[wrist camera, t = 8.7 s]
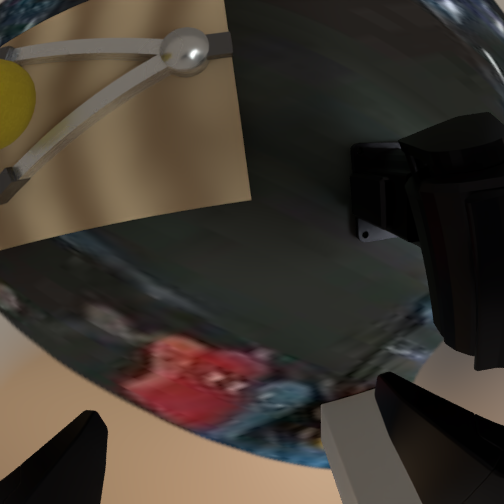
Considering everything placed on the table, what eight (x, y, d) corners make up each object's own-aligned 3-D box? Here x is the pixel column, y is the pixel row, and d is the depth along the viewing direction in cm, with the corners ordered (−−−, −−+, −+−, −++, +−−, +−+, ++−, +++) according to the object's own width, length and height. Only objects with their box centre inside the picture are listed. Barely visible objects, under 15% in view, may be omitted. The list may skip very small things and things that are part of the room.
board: (219, -22, 13) (219, -31, 12) (249, 197, 18) (251, 200, 17) (-14, 65, 12) (-22, 62, 11) (1, 248, 17) (-8, 252, 16)
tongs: (220, -20, 12) (220, -38, 10) (243, 145, 16) (246, 142, 14) (-3, 59, 12) (-19, 54, 9) (3, 204, 15) (-15, 210, 13)
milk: (378, 385, 24) (487, 570, 3) (372, 423, 26) (453, 582, 5) (318, 404, 24) (399, 619, 3) (319, 439, 26) (380, 617, 5)
